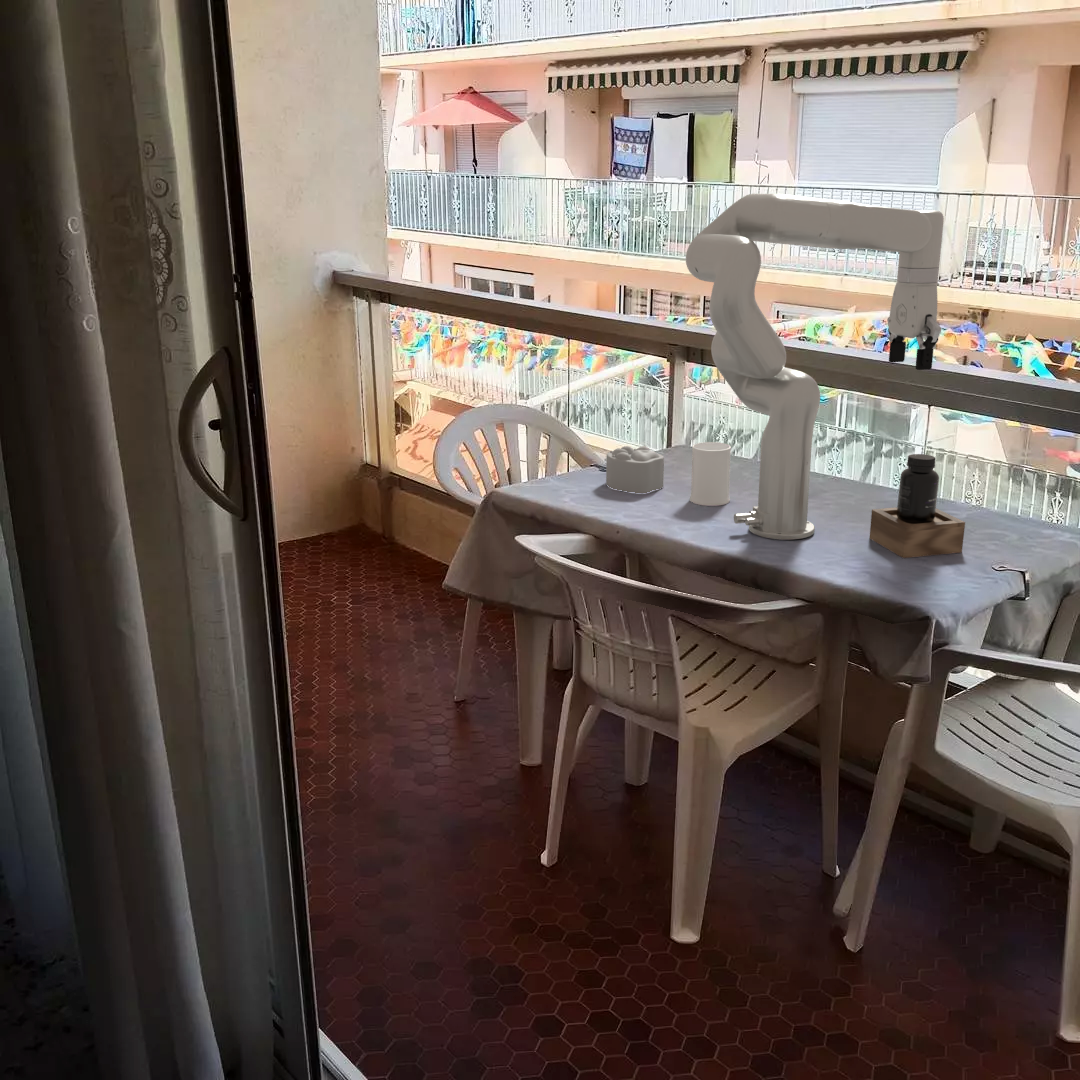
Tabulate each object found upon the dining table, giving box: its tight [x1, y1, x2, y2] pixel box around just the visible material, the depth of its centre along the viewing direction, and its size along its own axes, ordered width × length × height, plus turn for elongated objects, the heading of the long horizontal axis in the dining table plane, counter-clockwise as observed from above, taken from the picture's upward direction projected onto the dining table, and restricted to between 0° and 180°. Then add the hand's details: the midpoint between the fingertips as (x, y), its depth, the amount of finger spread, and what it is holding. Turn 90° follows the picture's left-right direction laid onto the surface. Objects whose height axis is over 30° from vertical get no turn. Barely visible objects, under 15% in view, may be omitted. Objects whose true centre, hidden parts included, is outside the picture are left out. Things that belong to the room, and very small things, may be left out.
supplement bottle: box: [896, 453, 940, 524], centre depth 205 cm, size 7×7×12 cm
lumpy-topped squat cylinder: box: [605, 445, 665, 493], centre depth 250 cm, size 10×13×9 cm
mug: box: [689, 441, 732, 507], centre depth 238 cm, size 12×8×12 cm
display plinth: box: [868, 506, 966, 559], centre depth 207 cm, size 12×12×6 cm
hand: (909, 365), depth 219 cm, fingers open, 9 cm apart
